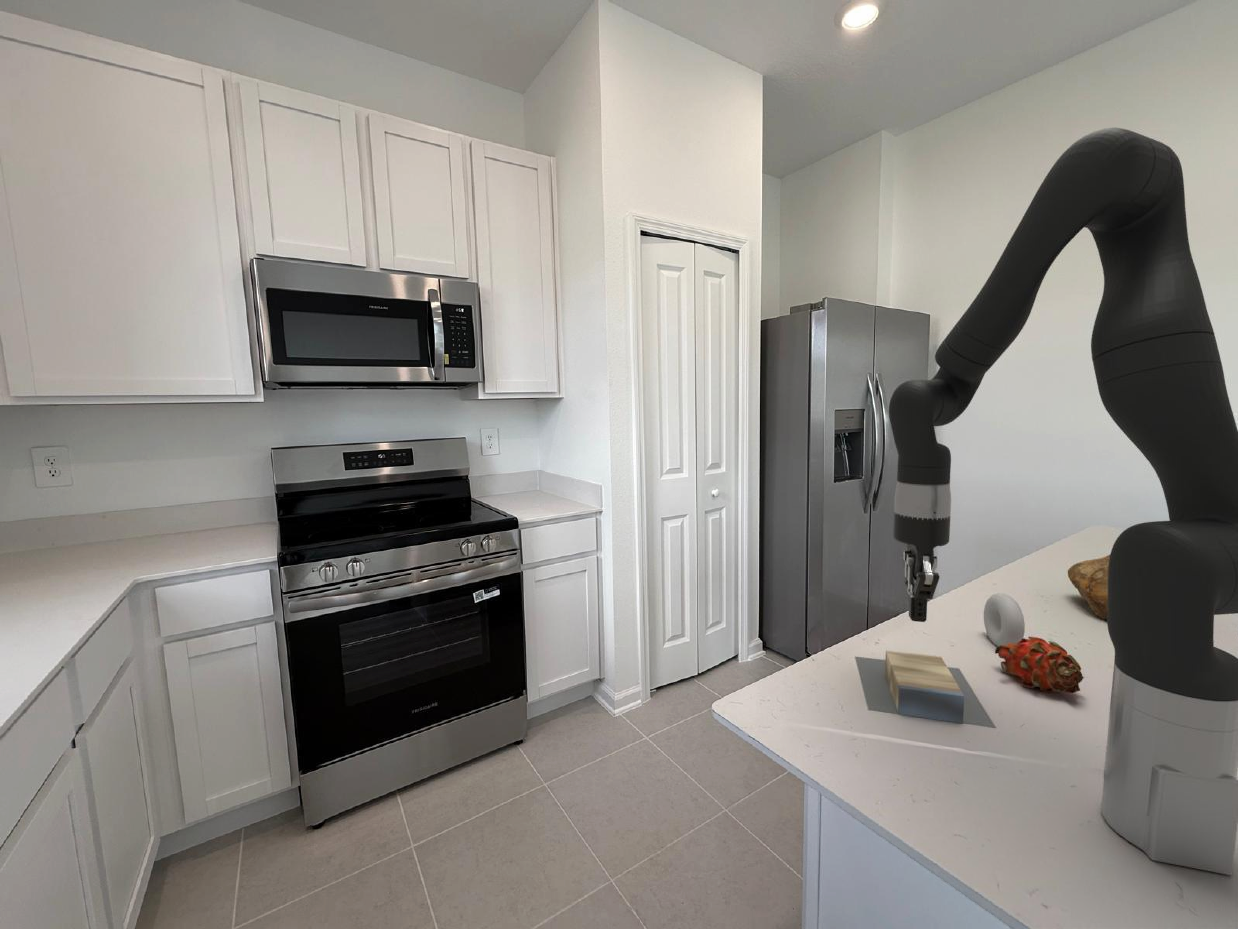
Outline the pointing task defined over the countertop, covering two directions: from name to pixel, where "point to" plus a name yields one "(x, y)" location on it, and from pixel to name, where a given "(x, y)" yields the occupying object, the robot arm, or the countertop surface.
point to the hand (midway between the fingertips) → (917, 619)
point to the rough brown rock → (1092, 583)
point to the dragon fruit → (1041, 665)
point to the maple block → (923, 687)
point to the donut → (1003, 620)
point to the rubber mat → (883, 700)
